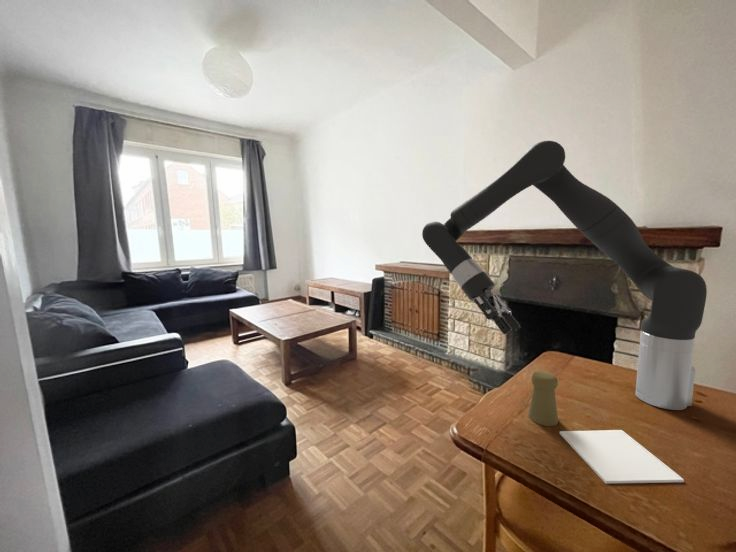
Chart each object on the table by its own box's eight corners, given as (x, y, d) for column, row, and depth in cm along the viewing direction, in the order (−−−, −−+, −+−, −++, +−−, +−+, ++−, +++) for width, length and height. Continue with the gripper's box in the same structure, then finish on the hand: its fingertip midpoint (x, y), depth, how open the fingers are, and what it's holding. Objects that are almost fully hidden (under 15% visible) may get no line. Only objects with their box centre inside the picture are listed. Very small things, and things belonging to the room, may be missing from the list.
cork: (522, 411, 72) (524, 368, 71) (546, 409, 73) (548, 366, 71) (538, 427, 66) (540, 380, 65) (564, 424, 67) (567, 378, 65)
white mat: (621, 432, 64) (621, 429, 64) (683, 482, 51) (684, 479, 51) (559, 433, 64) (559, 431, 64) (605, 483, 51) (605, 480, 51)
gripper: (473, 268, 74) (519, 324, 67) (491, 272, 85) (532, 320, 78) (451, 287, 77) (492, 342, 70) (470, 288, 88) (507, 335, 81)
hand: (513, 330), depth 74 cm, fingers open, 8 cm apart
